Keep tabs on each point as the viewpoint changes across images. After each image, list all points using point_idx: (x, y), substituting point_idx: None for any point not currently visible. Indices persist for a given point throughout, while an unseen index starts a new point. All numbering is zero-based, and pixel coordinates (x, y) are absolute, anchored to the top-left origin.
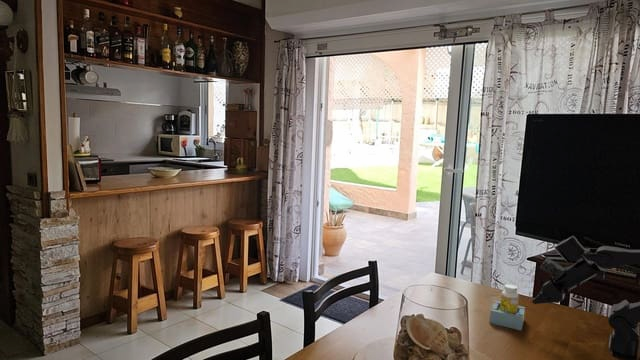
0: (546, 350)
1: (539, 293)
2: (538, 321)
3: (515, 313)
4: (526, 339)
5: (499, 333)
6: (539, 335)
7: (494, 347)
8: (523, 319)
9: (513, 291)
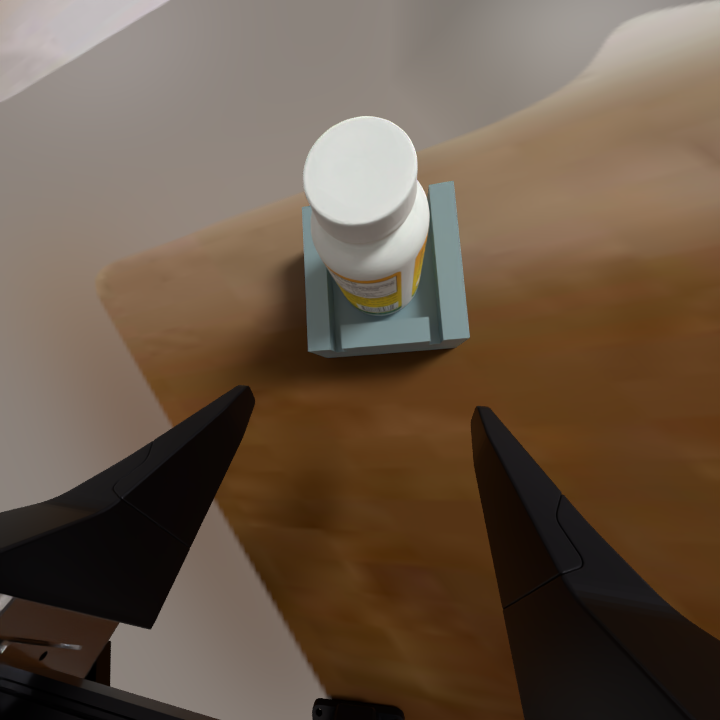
0: None
1: (478, 422)
2: None
3: (361, 310)
4: (262, 385)
5: (254, 295)
6: (327, 424)
7: (149, 306)
8: (412, 349)
9: (320, 224)
